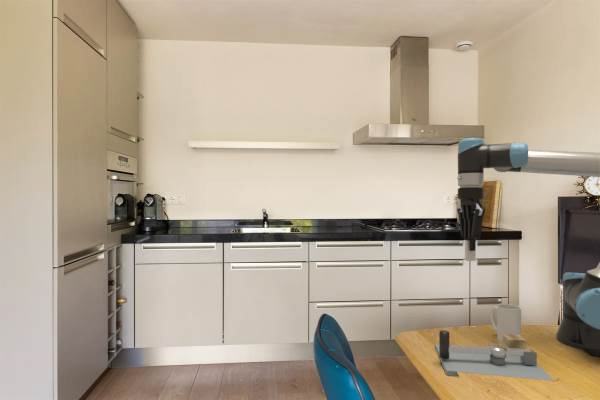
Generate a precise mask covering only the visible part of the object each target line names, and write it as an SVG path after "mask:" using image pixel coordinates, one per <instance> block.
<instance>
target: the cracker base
mask: <svg viewBox="0 0 600 400" xmlns="http://www.w3.org/2000/svg"><path fill="white" fill-rule="evenodd" d="M434 347H435V348H434V349H435V351H436V353H437V356H438V358H439V360H440V362H441V363H440V364H441V365H442V367H443V370H444V372H445V375H446V376H449V377H450V376H452V377H460V375H459V373H470V374H479V375H486V376H487V375H489V376H498V377H499V376H500V377H507V378H508V377H509V378H518V379H527V380H528V379H530V380H541V381H550V382H551V381H552V382H555V380H554V379H553V378H552V377H551V376H550V375H549V373H547V372H546V371H545V370H544V369H543V368H542V367H541V366H540V365H539V364H538V363H537V365H525V364H524V363H522V362H521V361H520V356H512V355H507V357H506V358H496V357H493V356H491V355H489V354H469V353H449V359H442V358H440V357H439V343H435V345H434Z"/></svg>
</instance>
